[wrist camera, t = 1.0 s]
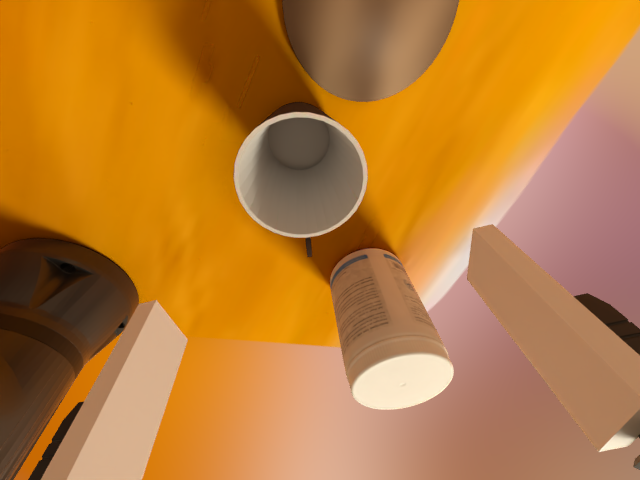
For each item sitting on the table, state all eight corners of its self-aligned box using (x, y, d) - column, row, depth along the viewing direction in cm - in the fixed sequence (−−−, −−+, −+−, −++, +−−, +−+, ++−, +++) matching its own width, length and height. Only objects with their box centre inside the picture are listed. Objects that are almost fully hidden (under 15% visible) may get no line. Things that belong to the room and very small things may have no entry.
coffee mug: (267, 69, 23) (253, 86, 15) (360, 111, 26) (391, 144, 18) (235, 192, 29) (212, 251, 21) (313, 216, 32) (320, 278, 24)
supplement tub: (329, 302, 40) (345, 416, 28) (328, 247, 34) (347, 359, 22) (398, 296, 40) (443, 406, 28) (408, 241, 35) (469, 348, 23)
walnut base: (302, 112, 26) (302, 114, 25) (260, -106, 18) (259, -111, 17) (447, 84, 25) (451, 85, 24) (467, -151, 18) (474, -159, 17)
